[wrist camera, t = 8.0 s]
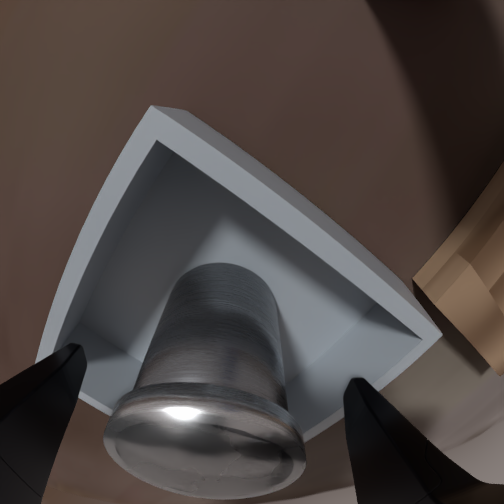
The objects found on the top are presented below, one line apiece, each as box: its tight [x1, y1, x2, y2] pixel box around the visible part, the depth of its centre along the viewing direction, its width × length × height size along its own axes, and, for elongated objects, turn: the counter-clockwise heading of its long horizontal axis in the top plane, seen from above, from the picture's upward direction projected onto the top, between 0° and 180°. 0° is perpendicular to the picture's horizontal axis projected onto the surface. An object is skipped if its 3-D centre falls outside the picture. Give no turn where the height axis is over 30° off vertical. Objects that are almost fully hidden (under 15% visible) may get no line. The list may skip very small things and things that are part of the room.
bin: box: [35, 105, 443, 443], centre depth 11 cm, size 11×11×4 cm
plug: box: [103, 262, 306, 499], centre depth 9 cm, size 5×5×7 cm
